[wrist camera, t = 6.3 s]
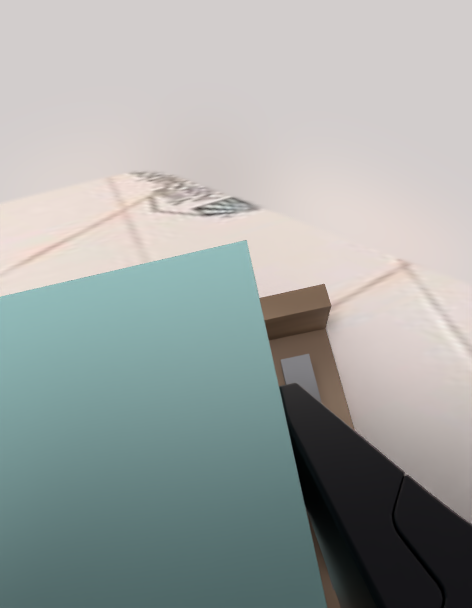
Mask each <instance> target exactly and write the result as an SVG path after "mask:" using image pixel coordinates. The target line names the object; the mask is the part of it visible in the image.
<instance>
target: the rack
mask: <svg viewBox="0 0 472 608" xmlns="http://www.w3.org/2000/svg"><path fill="white" fill-rule="evenodd" d="M259 299H260V303H261V308H262V312H263V317H264V321H265V326H266V330H267V335H268V339H269V344H270V348H271V353H272V357H273V362H274V366H275V371H276V375H277V380H278V384H279V387H280V386H281V385H286V384H291V383H298V384H299V385H300V386H301V387H303V388H304V389H305V390H306V391H307V392H309V393H310V394H311V395H312V396H313V397H315V398H316V399H317V400H318V401H319V402H321V403H322V404H323V405H324V406H326V407H327V408H328V409H329V410H330V411H332V412H333V413H334V414H335V415H336V416H338V417H339V418H340V419H341V420H342V421H344V422H345V423H346V424H347V425H348V426H350V427H351V428H352V429H353V430H354V427H353V423H352V420H351V416H350V413H349V409H348V406H347V402H346V399H345V395H344V392H343V388H342V385H341V381H340V378H339V374H338V371H337V367H336V364H335V360H334V357H333V353H332V350H331V346H330V343H329V339H328V336H327V332H326V329H325V328H326V324H327V320H328V316H329V312H330V308H331V303H330V300H329V297H328V293H327V290H326V287H325V284H322V285H317V286H313V287H308V288H303V289H299V290H294V291H290V292H285V293H281V294H276V295H272V296H267V297H263V298H259ZM354 431H355V430H354ZM305 507H306V506H305ZM306 511H307V509H306ZM307 516H308V520H309V525H310V530H311V534H312V539H313V543H314V548H315V553H316V557H317V562H318V566H319V571H320V576H321V580H322V585H323V589H324V594H325V599H326V603H327V608H341V607H340V604H339V601H338V598H337V595H336V592H335V590H334V587H333V584H332V581H331V578H330V575H329V572H328V569H327V566H326V564H325V561H324V558H323V555H322V552H321V549H320V546H319V543H318V540H317V538H316V535H315V532H314V529H313V526H312V523H311V520H310V517H309V514H308V512H307Z"/></svg>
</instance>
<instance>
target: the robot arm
mask: <svg viewBox="0 0 472 608" xmlns="http://www.w3.org/2000/svg"><path fill="white" fill-rule="evenodd" d="M279 389H280V393H281V398H282V403H283V407H284V412H285V416H286V421H287V426H288V430H289V435H290V439H291V444H292V448H293V453H294V457H295V462H296V466H297V471H298V476H299V480H300V485H301V489H302V494H303V498H304V503H305V506H306V509H307V512H308V514H309V517H310V520H311V523H312V526H313V529H314V532H315V535H316V538H317V540H318V543H319V546H320V549H321V552H322V555H323V558H324V561H325V564H326V566H327V569H328V572H329V575H330V578H331V581H332V584H333V587H334V590H335V592H336V595H337V598H338V601H339V604H340V607H341V608H472V524H470V523H469V522H468V521H466V520H465V519H463V518H462V517H461V516H459V515H458V514H456V513H455V512H454V511H452V510H451V509H450V508H449V507H447V506H446V505H445V504H443V503H442V502H441V501H440V500H438V499H437V498H436V497H435V496H433V495H432V494H431V493H429V492H428V491H427V490H426V489H424V488H423V487H422V486H421V485H420V484H418V483H417V482H416V481H415V480H414V479H413V478H411V477H410V476H409V475H405V472H404V471H403V470H401V469H400V468H399V467H398V466H397V465H395V464H394V463H393V462H392V461H391V460H389V459H388V458H387V457H386V456H385V455H383V454H382V453H381V452H380V451H379V450H377V449H376V448H375V447H374V446H373V445H371V444H370V443H369V442H368V441H366V440H365V439H364V438H363V437H362V436H360V435H359V434H358V433H357V432H356V431H354V430H353V429H352V428H351V427H350V426H348V425H347V424H346V423H345V422H344V421H342V420H341V419H340V418H339V417H338V416H336V415H335V414H334V413H333V412H332V411H330V410H329V409H328V408H327V407H326V406H324V405H323V404H322V403H321V402H319V401H318V400H317V399H316V398H315V397H313V396H312V395H311V394H310V393H309V392H307V391H306V390H305V389H304V388H303V387H301V386H300V385H299V384H298V383H291V384H286V385H281V386H280V387H279Z"/></svg>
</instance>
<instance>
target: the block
mask: <svg viewBox="0 0 472 608" xmlns="http://www.w3.org/2000/svg"><path fill="white" fill-rule="evenodd" d="M0 608H327V603H326V599H325V594H324V589H323V585H322V580H321V576H320V571H319V566H318V562H317V557H316V553H315V548H314V543H313V539H312V534H311V530H310V525H309V520H308V516H307V511H306V507H305V503H304V498H303V494H302V489H301V485H300V480H299V476H298V471H297V466H296V462H295V457H294V453H293V448H292V444H291V439H290V435H289V430H288V426H287V421H286V416H285V412H284V407H283V403H282V398H281V393H280V389H279V384H278V380H277V375H276V371H275V366H274V362H273V357H272V353H271V348H270V344H269V339H268V335H267V330H266V326H265V321H264V317H263V312H262V308H261V303H260V299H259V294H258V290H257V285H256V281H255V276H254V272H253V267H252V263H251V258H250V254H249V249H248V245H247V240H245V241H241V242H236V243H232V244H227V245H223V246H219V247H214V248H210V249H206V250H201V251H197V252H193V253H188V254H184V255H180V256H175V257H171V258H167V259H162V260H158V261H154V262H149V263H145V264H141V265H136V266H132V267H128V268H123V269H119V270H115V271H110V272H106V273H102V274H97V275H93V276H89V277H84V278H80V279H76V280H71V281H67V282H63V283H58V284H54V285H50V286H45V287H41V288H37V289H32V290H28V291H24V292H19V293H15V294H11V295H6V296H2V297H0Z"/></svg>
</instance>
